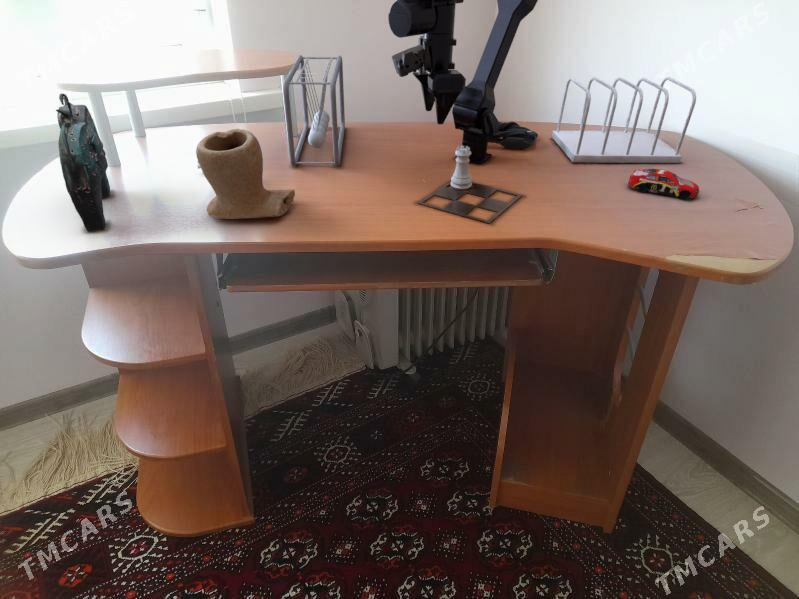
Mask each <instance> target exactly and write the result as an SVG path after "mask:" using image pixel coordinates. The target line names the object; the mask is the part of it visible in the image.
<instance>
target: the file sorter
mask: <svg viewBox="0 0 799 599" xmlns="http://www.w3.org/2000/svg"><path fill="white" fill-rule="evenodd" d="M571 81H572V82H573V83H574V84H575V85H576V86H577V87H579V88H580V89H582V90H583V91H584V92H585V96H584V97H585V98H584V102H583V108H582V114H581V119H580V125H579V130H560V128H561V124H562V119H563V115H564V110H565V106H566V100H567V96H568V91H569V86H570V83H571ZM593 81H595V82H596V83H598V84H600V85H602V86H604V87H605V88H607V89H609V91H610V95H609V99H608V102H607V107H606V111H605V116H604V120H603V124H602V129H601V130H585V129H586V126H587V125H586V124H587V120H588V117H589V116H588V115H589V112H590V106H591V100H592V97H591V96H592V95H591V91H590V90H591V85H592V83H593ZM619 81H620V82H622V83H623V84H625V85H627V86H629V87H631V88H632V89H634V92H633V96H632V98H631V99H632V100H631V103H630V108H629V112H628V115H627V119H626V123H625V127H624V130H611V128H612V123H613V120H614V116H615V111H616V108H617V103H618V92H617V89H616V86H617V83H618V82H619ZM667 81H669V82H672V83H673V84H675V85H677V86H679V87H680V88H683V89H684V90H687V91H688V92H690V93H691V95H692V96H691V97H692V99H691V100H692V101H691V105H690V108H689V111H688V114H687V117H686V119H685V123H684V126H683V128H682V132H681V135H680V137H679V140H678V143H677V146H676V150H675V149H673V148H672V147H671V146H670V145H668V144H667V143H666V142H665V141H663V140H662V139H660V138H659V137H660V132H661V129H662V126H663V122H664V118H665V115H666V112H667V108H668V105H669V99H670V97H669V91H668V90H667V89H666V88H665V87H664V85H665V83H666V82H667ZM642 82H645V83H646V84H648V85H650V86H652V87H654V88H656V89H658V93H657V95H656V99H655V102H654V104H653V109H652V112H651V115H650V119H649V122H648V125H647V129H646V131H641V130H639V131H637V130H636V128H637V125H638V120H639V117H640V114H641V110H642V106H643V102H644V93H643V89H642V88H641V87H640V84H642ZM662 92H663V93H664V105H663V108H662V111H661V115H660V119H659V122H658V126H657V130H656V133H655V134H654V132H652V131H651V127H652V124H653V121H654V118H655V114H656V111H657V107H658V104H659V101H660V97H661V94H662ZM637 93H638V94H639V101H638V106H637V108H636V109H637V110H636V113H635V117H634V120H633V125H632V127H631V128H632V129H631V130H629V131H628V129H629V125H630V121H631V117H632V114H633V110H634V106H635V102H636V99H637V95H638V94H637ZM612 102H613V103H612ZM696 102H697V92H696V91H695V89H694V88H692V87H690V86H689V85H687V84H684V83H682V82H680V81H679V80H676V79H675V78H673V77H670V76H667V77H665V78H663V79H662V81H661V83H660V84H658V83H655V82H653V81H652V80H650V79H648V78H646V77H642V78H639V79H638V81H637V83H636V84H634V83H632V82H631V81H629V80H627V79H625V78H623V77H620V76H619V77H617V78H615V79H614V81H613V83H612V85H610V84H609V83H607V82H605V81H604V80H602V79H600V78H598V77H596V76H592V77H591V78H590V79H589V81H588V83H587V86H585V85H584V84H582V83H581V82H580V81H579V80H577V79H576V78H575V77H571V76H570V77H569V78H567V80H566V84H565V87H564V93H563V98H562V101H561V106H560V112H559V117H558V122H557V126H556V130H552V134H551V138H552V139H553V140H554V141H555V143H556V144H557V145H558V146H559V148H561V150H562V151H563V153H564V154H565V155H566V156H567V158H569V160H570V161H571V162H572V163H606V164H607V163H608V164H609V163H613V164H614V163H618V164H619V163H621V164H624V163H626V164H627V163H628V164H630V163H631V164H679V163H681V160H682V157H683V155H682V154H680V150H681V147H682V144H683V142H684V139H685V136H686V132H687V130H688V127H689V125H690V124H689V123H690V121H691V118H692V115H693V112H694V110H695V105H696V104H697V103H696ZM612 104H613V105H612ZM611 106H612V107H611ZM610 111H611V112H610ZM609 113H610V115H609ZM608 118H609V121H608ZM607 122H608V123H607Z"/></svg>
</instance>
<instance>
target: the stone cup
mask: <svg viewBox="0 0 799 599" xmlns="http://www.w3.org/2000/svg"><path fill="white" fill-rule="evenodd" d="M195 155H196V158H197V163H198V162H199V164H200V167H201V168H200V169H201V171H202V174H203V176H204V177H205V179H206V180H207V182H208V183H209V185H210V187H211V188H212V190H213V192H214V194H215V196H214V197H213V198H212V199H211V200H210V201H209V202H208V204H207V206H206V212H207V214H208V216H209V217H210V218H213V219H223V220H238V219H239V220H240V219H259V218H273V217H275V218H276V217H279V216H283V215H285V214H286V213H287V212H288V210H289V209H290V207H291V206H292V203H293V202H294V198H295V195H296V192H295V189H293V188H292V189H291V188H290V189H266V188H265V187H264V183H263V173H264V158H263V151H262V147H261V144H260V142H259V140H258V138H257V137H256V136H255V134H254V133H252V132H251V131H250V130H247V129H244V128H243V129H242V128H233V129H232V128H231V129H229V130H226V131H216V132H212V133H210V134H208V135H206V136H204V137H203V138H202V139H201V140H200V141H199V142H198V144H197V146H196V150H195Z"/></svg>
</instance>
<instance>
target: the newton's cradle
mask: <svg viewBox="0 0 799 599" xmlns="http://www.w3.org/2000/svg"><path fill="white" fill-rule="evenodd" d="M309 60H329V62H326V61H325V62H324V61H323V62H322V61H321V62H320V61H319V62H317V61H315V62H314V61H309ZM333 60H336V61H335V63H334V68H333V71H332V75H331V79H330V82H328V75H329V73H330V68H331V65H332V62H333ZM300 63H301V66H300ZM309 64H327V66H326V69H325V73H324V77H323V78H322V79H323V80H322V82H321V81H320V82H319V81H318V82H316V81H315V82H314V80H313V76H312V75H315V73H313V72H312V73H311V69H310V68H311V67H310V65H309ZM343 67H344V65H343V57H342V56H341V55H338V56H337V57H335V56H303V55H301V54H300V55H298V56H297V57H296V60H295V62H294V63H293V65H292V66H291V68H290V70H289V72H288V74H287V76H286V77H285V79H284V81H283V84H282V94H283V104H284V113H285V114H284V115H285V125H286V134H287V143H288V154H289V162H290V165H291V166H292V167H296V166H297V165H334V166H335V167H339V166H340V164H341V157H342V150H343V142H344V136H345V129H346V119H345V116H346V114H345V95H344V94H345V90H344V71H343V70H344V68H343ZM298 69H299V74H298V76H297V78H296V80H295V81H293V78H294V76H295V74H296V73H297V70H298ZM299 80H300V81H299ZM337 81H338V94H339V95H338V97H339V98H338V99H339V117H340V118H339V120H340V124H339V125H340V126H338V112H337V111H338V109H337V89H336V88H337ZM290 85H300V87H301V88H300V89H301V99H302V109H303V111H302V112H303V127H302V131H301V134H300V137H299V140H298V142H297V146H296V148H295V143H294V141H295V140H294V132H293V130H294V129H293V121H292V120H293V119H292V111H291V101H290ZM309 85H310V86H309ZM315 85H321V86H322V88H321V96H320V103H319V99H318V96H317V93H316V88H315ZM328 85H329V96H330V98H329V99H330V114H329V113H328V112H327V111H326V110H324V108H325V101H326V91H327V86H328ZM312 86H313V87H312ZM307 88H308V89H307ZM310 88H311V89H310ZM313 90H314V91H313ZM311 93H312V94H311ZM309 95H310V96H309ZM315 98H316V99H315ZM310 99H311V100H310ZM313 100H314V101H313ZM308 102H309V104H308ZM316 102H317V103H316ZM311 103H312V104H311ZM317 105H318V106H317ZM309 106H310V108H309ZM312 107H313V108H312ZM310 110H311V111H310ZM313 110H314V112H313ZM330 115H331V116H330ZM312 116H313V119H312ZM309 117H310V121H311V126H310V125H309ZM330 117H331V119H330ZM330 120H331V126H329V123H330ZM309 129H310V130H309ZM328 129H331V136H332V151H333V154H332V155H333V161H299V159H300V155H301V152H302V149H303V147H304V143H305V139H306V136H307V133H308V131H309V133H308V137H307V141H308V143H309V145H310V146H311V147H313V148H315V149H319V148H321V147H323V146H324V144H325V142H326V137H327V133H328ZM338 129H339V131H338ZM338 132H339V134H338Z"/></svg>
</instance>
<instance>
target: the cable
mask: <svg viewBox="0 0 799 599" xmlns="http://www.w3.org/2000/svg"><path fill="white" fill-rule="evenodd" d="M499 123H500V126H499V129H498V132H497V133H496V134H495V135H494V136H488V143H490V144H495V145H496V144H498V145H500V146H501V147H503V149H513V150H523V149H526V148H530V147H532V146H534V144H535V143H536V142H537V140H538V137H539V134H538V132H536V131H534V130H531V129H530V128H528V127H525V126H521V125H520V124H519V123H517V122H516V121H508V122H502V121H499Z"/></svg>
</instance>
